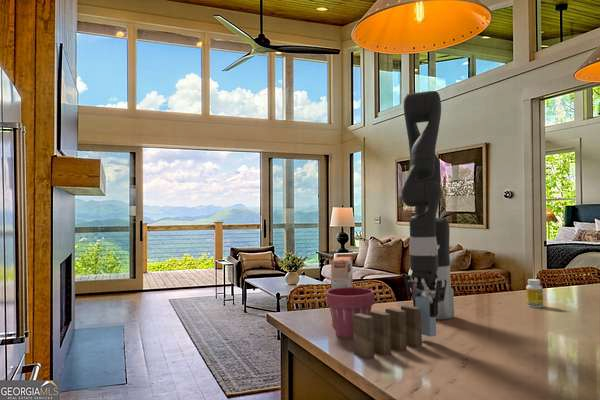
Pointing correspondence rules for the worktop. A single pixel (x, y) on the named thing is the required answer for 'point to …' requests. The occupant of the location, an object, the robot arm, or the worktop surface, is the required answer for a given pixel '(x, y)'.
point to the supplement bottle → (534, 293)
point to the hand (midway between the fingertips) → (425, 314)
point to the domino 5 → (426, 316)
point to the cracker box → (341, 273)
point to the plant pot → (348, 307)
